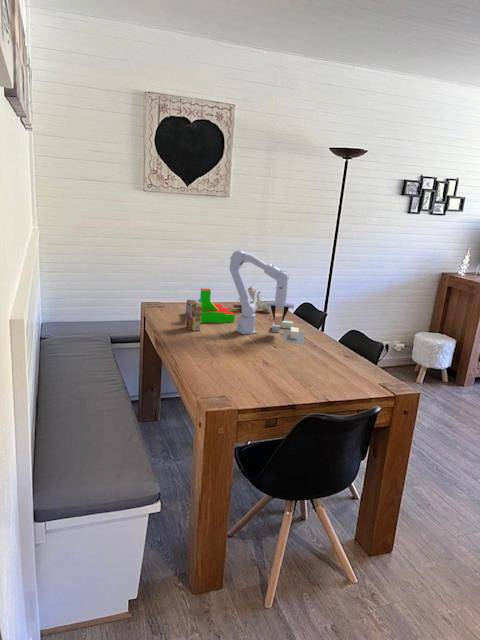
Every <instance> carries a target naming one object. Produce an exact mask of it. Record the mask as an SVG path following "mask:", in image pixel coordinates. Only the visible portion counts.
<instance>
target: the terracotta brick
mask: <svg viewBox="0 0 480 640" xmlns="http://www.w3.org/2000/svg"><path fill="white" fill-rule="evenodd" d="M282 318H283V313H276V312H275V320H273V322H274V325H282Z"/></svg>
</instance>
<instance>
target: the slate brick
mask: <svg viewBox="0 0 480 640" xmlns="http://www.w3.org/2000/svg"><path fill="white" fill-rule="evenodd" d="M271 326H272V327H271V328H272V329H271V332H272V333H280V330H281V328H280V325H274V321H273V322H272V325H271Z"/></svg>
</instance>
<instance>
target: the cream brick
mask: <svg viewBox="0 0 480 640" xmlns="http://www.w3.org/2000/svg"><path fill="white" fill-rule="evenodd" d="M299 329H300V328H299V327H295V326H292V327H291V329H290V331H291V332H290V339H298V333H299V332H300V331H299Z"/></svg>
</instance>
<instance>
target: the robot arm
mask: <svg viewBox="0 0 480 640" xmlns="http://www.w3.org/2000/svg"><path fill="white" fill-rule="evenodd" d="M243 263H251V264H252V265H254V266H257V267H258V268H259V269H262V270H263V272H264V274H265V275H267V276H269V278H270V277H271V278H272V279H274V280H275V281H276V287H275V297H274V301H266V302H265V303H266V306H271V310H272V311H271V310H270V311H271V313H272V318H273V319H272V320H273V321H274V320H275V313H276V309H277V308H276V307H278V308H283V313H282V314H283V318H282V321H285V318H286V315H287V313H288V312H289V310H290V309H295V304H294V303H289V302H287V297H288V296H287V295H288V285H289V284H288V281H290V274H289V273H288V272H287V271H286V270H284V271H283V269H281V268H278V267H277V266H275V264H274V263H272V264H271V263H266V262H264V261H263V260H262V259H260V258H258V257H257V256H255V255H253V253H251V252H249V251H247V250H245V249H243V248H242V249H239V250H235V251H233V252H232V254H231V256H230V262H229V272H230V274H231V277H232V279H233V282H234V284H235V285H234V286H235V287H236V291H237V292H238V295H239V297H240V299H241V303H240V304H241V305H240V307H241V313H242V314H241V315H240V316H238V317H237V318H236V326H235V327H236V329H235V331H236V332H238V333H240V334H242V335H249V334H257V333H258V331H257V330H255V327H256V318H257V317H256V312H257V310H258V309H257V305H256V304H255V303H254V301H253V299H252V298H251V297H250V295H249V292H248V290H247V289H248V287H247V285H246V281H245V279H244V276H243V273H242V271H241V268H242V265H243Z"/></svg>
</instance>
